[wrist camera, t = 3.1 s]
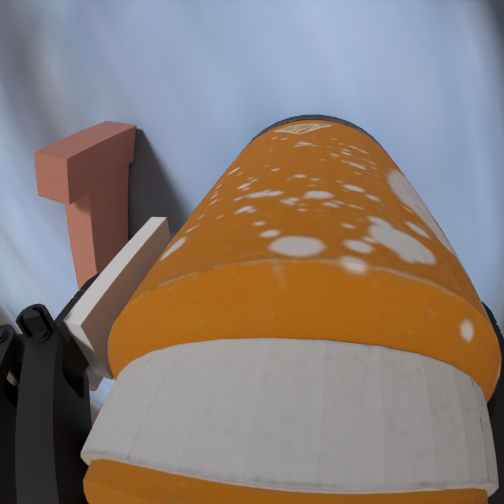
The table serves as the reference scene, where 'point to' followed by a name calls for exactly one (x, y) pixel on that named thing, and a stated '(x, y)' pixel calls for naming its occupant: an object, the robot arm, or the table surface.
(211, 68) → the table surface
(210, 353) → the canister
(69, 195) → the pink l-shaped bracket
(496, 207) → the table surface
